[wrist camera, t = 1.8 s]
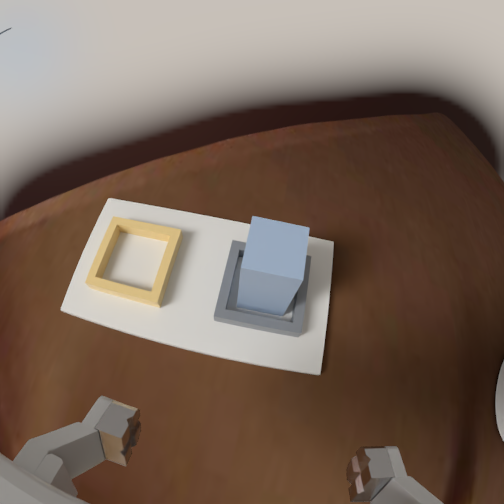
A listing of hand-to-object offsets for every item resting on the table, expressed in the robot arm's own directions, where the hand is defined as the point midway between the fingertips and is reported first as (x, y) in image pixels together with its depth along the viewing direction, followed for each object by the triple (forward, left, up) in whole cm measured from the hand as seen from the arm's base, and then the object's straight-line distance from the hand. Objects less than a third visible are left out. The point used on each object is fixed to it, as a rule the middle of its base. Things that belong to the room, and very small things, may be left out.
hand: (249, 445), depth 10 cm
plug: (0, -12, -14) cm, 18 cm away
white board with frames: (+6, -12, -15) cm, 20 cm away
